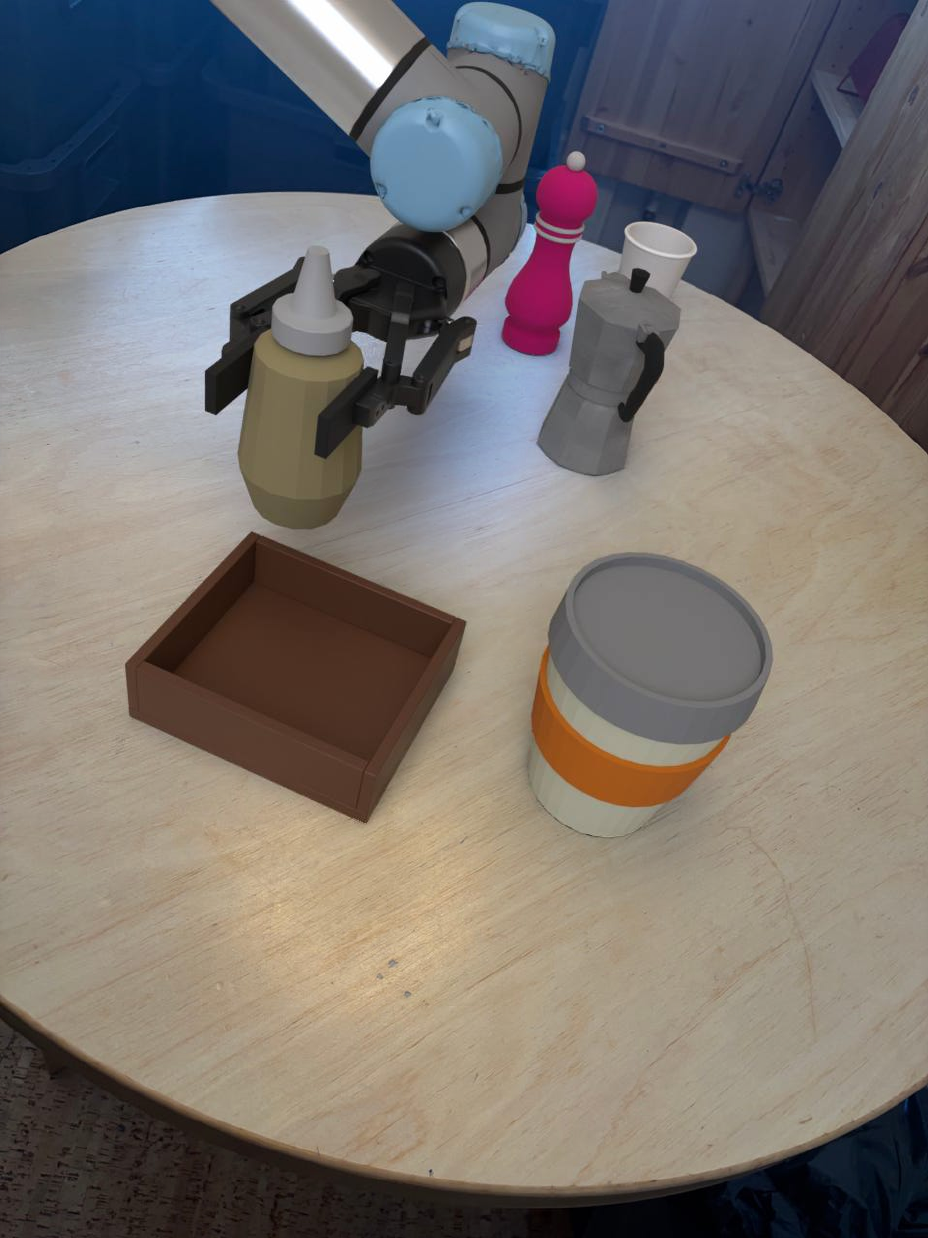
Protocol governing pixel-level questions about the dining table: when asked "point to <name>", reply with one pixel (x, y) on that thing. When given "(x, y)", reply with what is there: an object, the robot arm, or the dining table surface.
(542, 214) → the pepper mill
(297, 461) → the squeeze bottle
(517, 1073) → the dining table surface
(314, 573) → the brown tray
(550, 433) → the coffeepot
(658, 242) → the dixie cup
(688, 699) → the reusable coffee cup
